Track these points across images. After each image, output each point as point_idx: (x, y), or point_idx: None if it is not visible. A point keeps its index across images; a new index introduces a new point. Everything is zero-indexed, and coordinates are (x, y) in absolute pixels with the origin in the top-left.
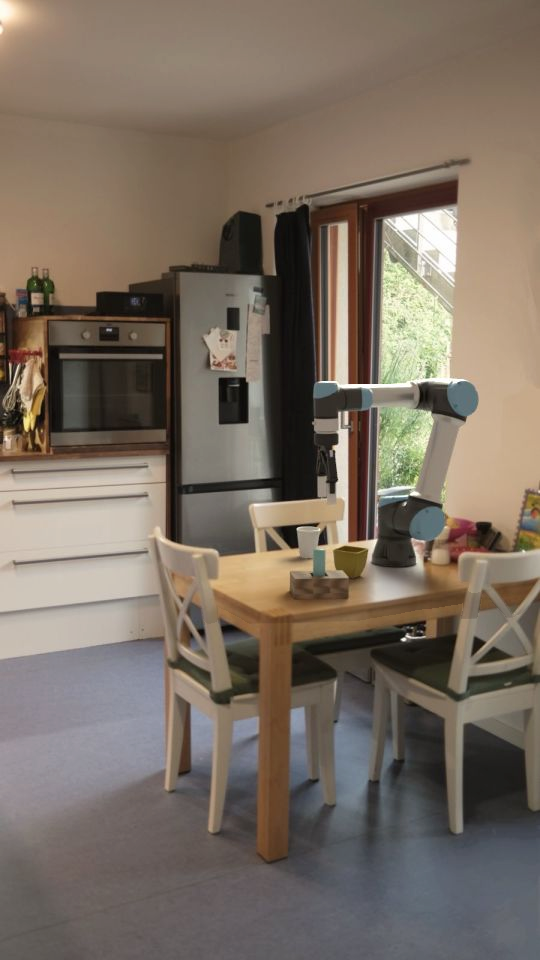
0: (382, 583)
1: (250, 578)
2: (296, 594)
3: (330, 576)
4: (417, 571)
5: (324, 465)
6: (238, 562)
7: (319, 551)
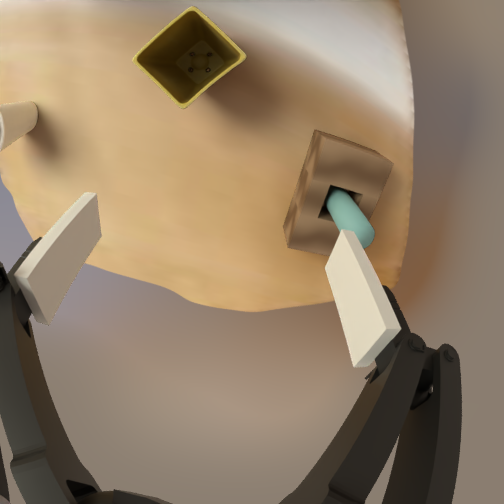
0: (291, 23)
1: (174, 258)
2: None
3: (366, 192)
4: None
5: (43, 408)
6: None
7: (371, 241)
